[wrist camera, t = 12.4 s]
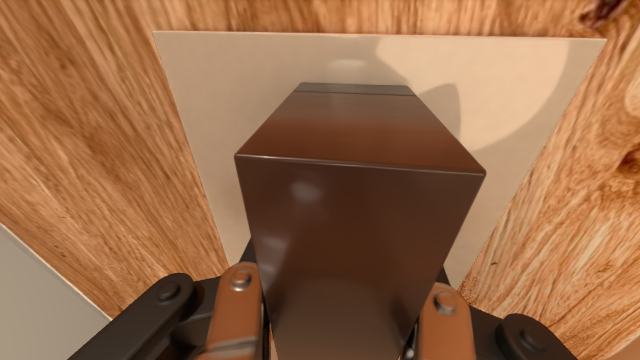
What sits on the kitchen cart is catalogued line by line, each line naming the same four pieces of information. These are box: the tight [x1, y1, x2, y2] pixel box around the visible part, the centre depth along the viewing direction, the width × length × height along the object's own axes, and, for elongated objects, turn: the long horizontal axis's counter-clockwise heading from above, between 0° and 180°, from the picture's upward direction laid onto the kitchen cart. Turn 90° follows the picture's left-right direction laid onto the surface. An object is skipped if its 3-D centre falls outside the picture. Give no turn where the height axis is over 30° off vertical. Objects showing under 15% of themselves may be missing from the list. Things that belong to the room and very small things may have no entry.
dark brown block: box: [234, 82, 487, 360], centre depth 9 cm, size 11×4×6 cm, turn 178°
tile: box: [152, 30, 607, 290], centre depth 14 cm, size 20×15×2 cm
